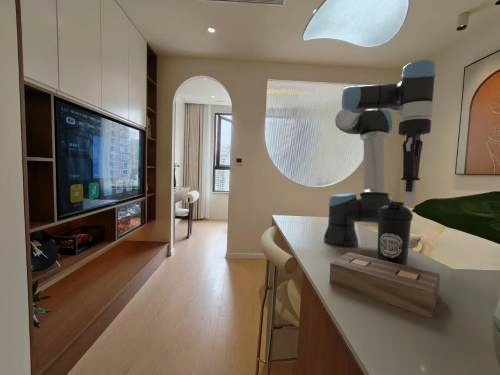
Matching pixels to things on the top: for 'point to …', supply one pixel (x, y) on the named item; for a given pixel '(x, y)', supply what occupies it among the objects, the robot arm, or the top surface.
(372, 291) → the socket block
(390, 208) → the water bottle
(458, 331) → the top surface
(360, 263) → the peg
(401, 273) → the peg
